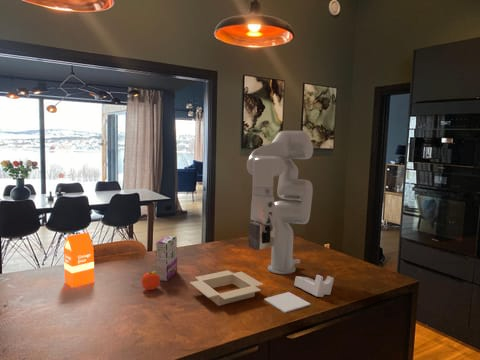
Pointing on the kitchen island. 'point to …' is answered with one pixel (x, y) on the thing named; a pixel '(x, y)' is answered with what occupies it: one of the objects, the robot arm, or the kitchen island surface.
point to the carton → (225, 278)
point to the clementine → (151, 280)
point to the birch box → (259, 236)
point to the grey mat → (287, 302)
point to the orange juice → (79, 260)
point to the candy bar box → (166, 257)
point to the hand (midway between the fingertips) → (261, 240)
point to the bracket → (315, 285)
